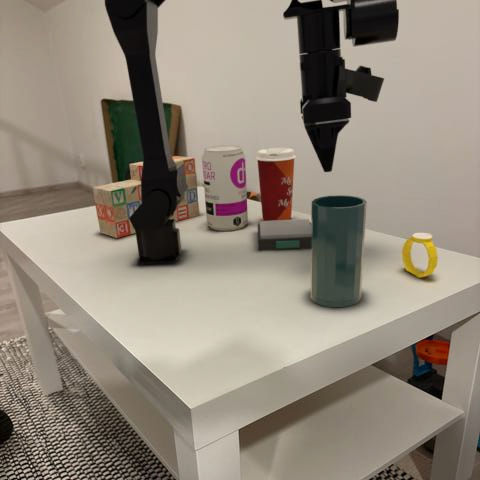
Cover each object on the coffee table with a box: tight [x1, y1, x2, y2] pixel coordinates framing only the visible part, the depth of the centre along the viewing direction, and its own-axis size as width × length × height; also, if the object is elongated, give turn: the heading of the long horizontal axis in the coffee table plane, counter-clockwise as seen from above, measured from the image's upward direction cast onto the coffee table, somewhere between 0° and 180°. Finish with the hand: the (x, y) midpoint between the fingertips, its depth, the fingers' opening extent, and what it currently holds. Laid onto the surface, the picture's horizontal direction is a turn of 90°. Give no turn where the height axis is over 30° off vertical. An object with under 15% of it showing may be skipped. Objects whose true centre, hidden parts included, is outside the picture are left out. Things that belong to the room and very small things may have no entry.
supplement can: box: [201, 145, 249, 232], centre depth 99 cm, size 8×8×15 cm
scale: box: [257, 218, 311, 251], centre depth 92 cm, size 10×10×2 cm
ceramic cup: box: [310, 194, 367, 308], centre depth 66 cm, size 7×7×13 cm
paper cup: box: [255, 147, 297, 221], centre depth 100 cm, size 8×8×14 cm
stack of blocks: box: [92, 155, 200, 239], centre depth 104 cm, size 21×6×12 cm, turn 136°
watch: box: [401, 232, 439, 279], centre depth 73 cm, size 6×3×6 cm, turn 22°
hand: (325, 166), depth 78 cm, fingers open, 9 cm apart
